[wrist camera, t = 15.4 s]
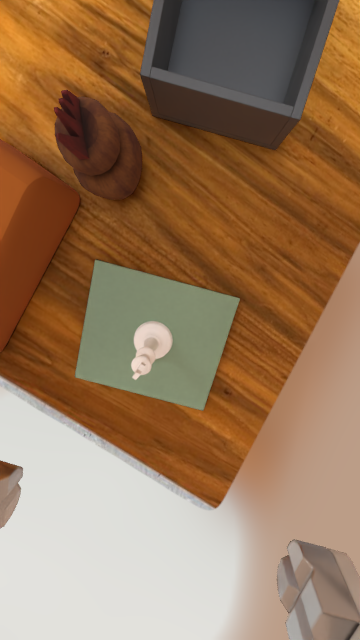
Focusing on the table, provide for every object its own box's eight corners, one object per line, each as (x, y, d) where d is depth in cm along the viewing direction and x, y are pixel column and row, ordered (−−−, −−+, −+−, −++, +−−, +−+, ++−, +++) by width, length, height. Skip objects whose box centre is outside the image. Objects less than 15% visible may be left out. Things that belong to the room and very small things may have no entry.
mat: (239, 297, 32) (240, 298, 32) (203, 408, 37) (203, 410, 36) (96, 259, 32) (94, 259, 32) (76, 375, 36) (74, 377, 36)
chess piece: (127, 344, 34) (101, 381, 24) (146, 313, 33) (126, 339, 23) (159, 364, 35) (146, 408, 25) (179, 334, 33) (174, 368, 24)
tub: (325, -9, 25) (373, -102, 18) (275, 150, 28) (300, 119, 22) (185, -50, 25) (182, -159, 18) (152, 115, 28) (139, 74, 22)
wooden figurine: (138, 211, 31) (87, 176, 16) (89, 196, 30) (-5, 147, 16) (153, 148, 29) (112, 44, 14) (102, 131, 29) (9, 9, 14)
